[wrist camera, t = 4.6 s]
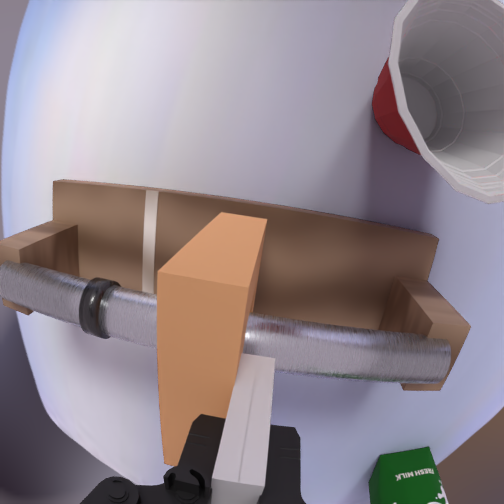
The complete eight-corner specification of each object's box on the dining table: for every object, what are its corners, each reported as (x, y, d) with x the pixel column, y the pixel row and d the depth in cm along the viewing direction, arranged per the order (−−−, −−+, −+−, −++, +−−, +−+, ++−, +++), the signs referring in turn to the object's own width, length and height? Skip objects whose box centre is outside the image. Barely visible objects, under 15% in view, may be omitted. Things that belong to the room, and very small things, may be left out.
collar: (221, 212, 21) (157, 271, 10) (267, 219, 20) (248, 287, 10) (207, 352, 24) (164, 463, 13) (245, 359, 24) (220, 476, 13)
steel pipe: (22, 249, 19) (-10, 264, 16) (437, 321, 17) (460, 351, 14) (27, 292, 20) (-1, 311, 17) (418, 366, 18) (435, 399, 15)
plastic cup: (370, 200, 23) (441, 241, 11) (316, 67, 20) (343, -8, 9) (478, 160, 21) (580, 175, 9) (433, 38, 18) (513, -16, 7)
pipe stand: (63, 179, 25) (-9, 194, 16) (431, 234, 23) (490, 272, 14) (67, 299, 28) (12, 342, 20) (390, 358, 26) (419, 425, 18)
